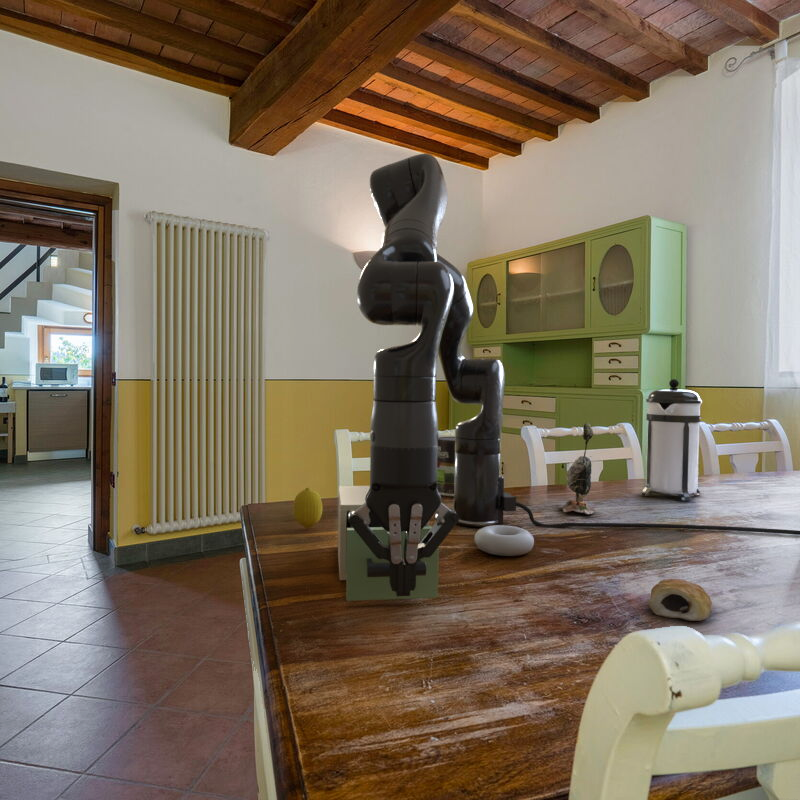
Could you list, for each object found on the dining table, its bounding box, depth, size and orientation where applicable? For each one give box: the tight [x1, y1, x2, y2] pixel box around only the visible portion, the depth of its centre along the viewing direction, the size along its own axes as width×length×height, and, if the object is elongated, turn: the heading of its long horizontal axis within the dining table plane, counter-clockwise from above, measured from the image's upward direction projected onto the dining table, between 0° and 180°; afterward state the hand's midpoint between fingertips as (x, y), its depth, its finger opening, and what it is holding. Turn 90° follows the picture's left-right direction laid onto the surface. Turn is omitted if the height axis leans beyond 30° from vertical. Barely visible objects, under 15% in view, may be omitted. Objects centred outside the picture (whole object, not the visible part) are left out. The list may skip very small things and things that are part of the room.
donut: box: [473, 524, 535, 557], centre depth 96 cm, size 10×4×10 cm
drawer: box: [345, 511, 440, 602], centre depth 76 cm, size 18×12×9 cm, turn 7°
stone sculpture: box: [558, 422, 596, 515], centre depth 127 cm, size 8×11×20 cm
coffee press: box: [641, 378, 703, 503], centre depth 146 cm, size 17×16×30 cm
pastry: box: [647, 578, 713, 622], centre depth 72 cm, size 9×7×4 cm
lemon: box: [292, 487, 323, 530], centre depth 108 cm, size 6×6×8 cm
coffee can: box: [437, 436, 455, 498], centre depth 146 cm, size 10×10×14 cm
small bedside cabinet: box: [337, 485, 430, 581], centre depth 89 cm, size 15×13×11 cm
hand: (402, 593), depth 64 cm, fingers closed
